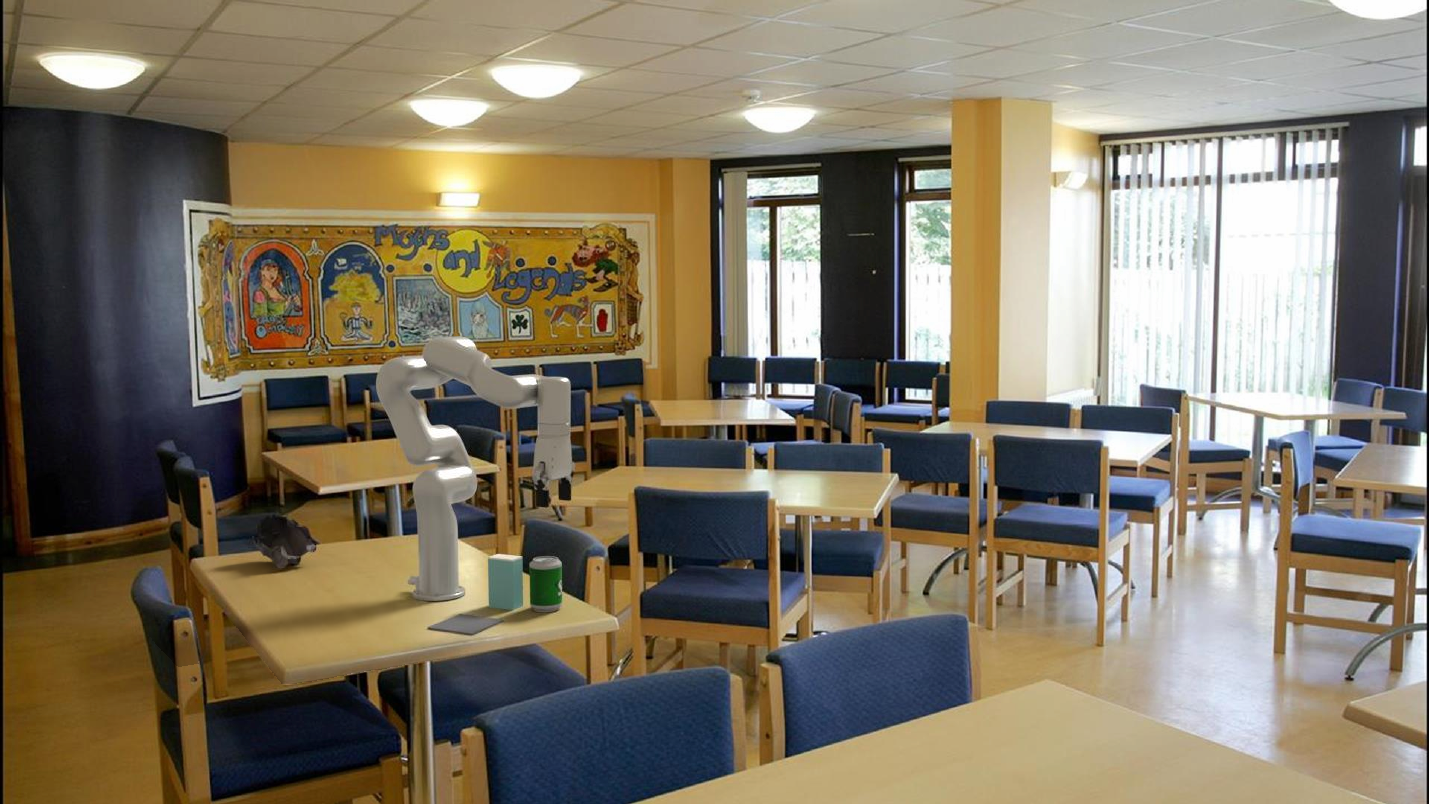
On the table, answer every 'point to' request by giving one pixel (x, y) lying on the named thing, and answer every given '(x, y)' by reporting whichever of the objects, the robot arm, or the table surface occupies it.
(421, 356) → the robot arm
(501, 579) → the teal block
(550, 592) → the soda can
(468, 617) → the rubber mat
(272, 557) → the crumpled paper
